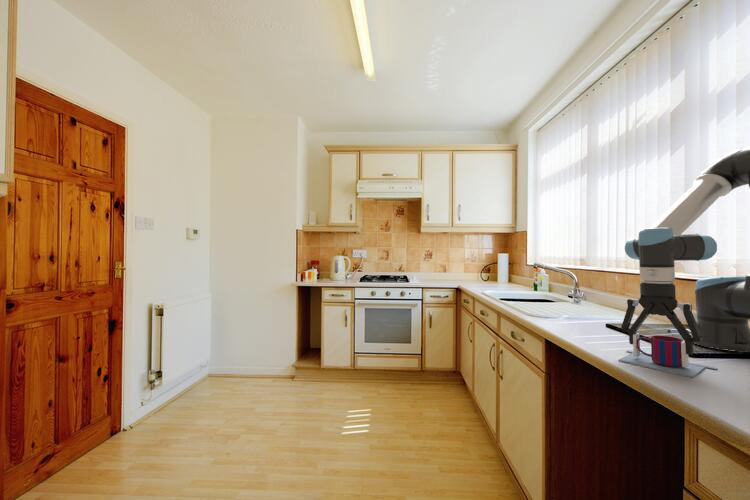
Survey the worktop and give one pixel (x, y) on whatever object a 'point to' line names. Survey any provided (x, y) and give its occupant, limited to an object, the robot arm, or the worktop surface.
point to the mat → (647, 362)
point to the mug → (664, 350)
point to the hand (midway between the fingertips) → (659, 360)
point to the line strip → (689, 362)
